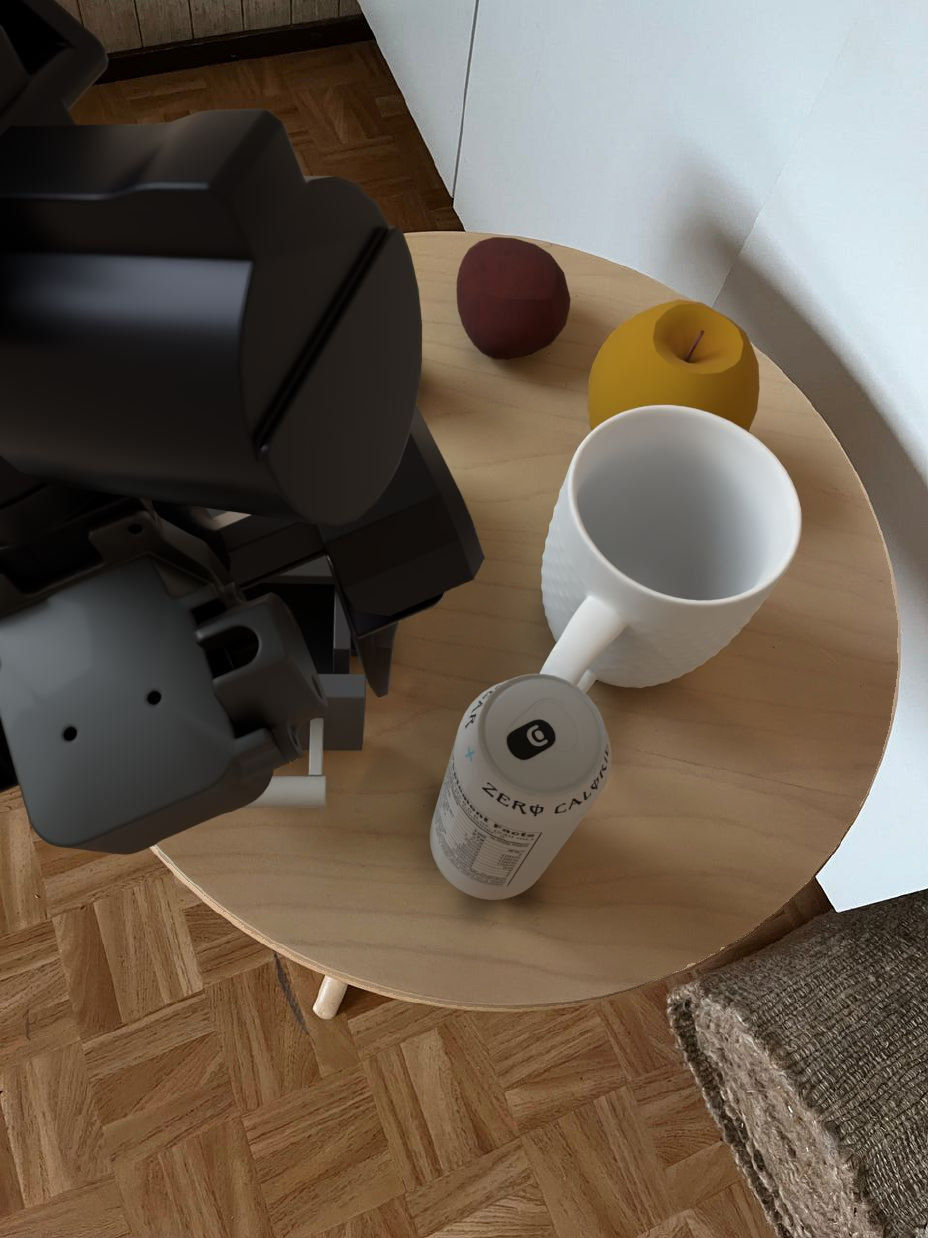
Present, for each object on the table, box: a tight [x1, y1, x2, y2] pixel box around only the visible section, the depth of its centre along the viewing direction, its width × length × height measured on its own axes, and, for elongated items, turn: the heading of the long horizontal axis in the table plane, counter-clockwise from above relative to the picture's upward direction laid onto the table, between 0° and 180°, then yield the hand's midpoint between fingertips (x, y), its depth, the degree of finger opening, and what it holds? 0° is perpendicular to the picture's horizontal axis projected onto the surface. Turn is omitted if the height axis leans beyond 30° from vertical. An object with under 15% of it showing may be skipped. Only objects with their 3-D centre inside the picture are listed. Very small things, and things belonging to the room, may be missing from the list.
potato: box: [455, 236, 572, 361], centre depth 64 cm, size 7×8×6 cm
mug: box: [539, 405, 803, 694], centre depth 51 cm, size 15×11×13 cm
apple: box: [587, 299, 760, 432], centre depth 58 cm, size 10×10×12 cm
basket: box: [241, 583, 367, 809], centre depth 49 cm, size 16×9×7 cm, turn 2°
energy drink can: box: [429, 673, 612, 901], centre depth 44 cm, size 6×6×15 cm
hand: (259, 738), depth 36 cm, fingers open, 9 cm apart
